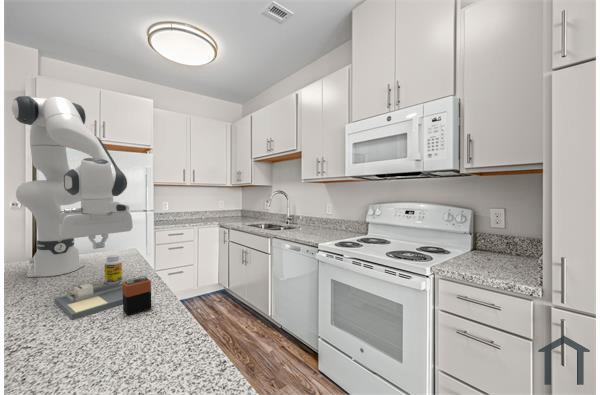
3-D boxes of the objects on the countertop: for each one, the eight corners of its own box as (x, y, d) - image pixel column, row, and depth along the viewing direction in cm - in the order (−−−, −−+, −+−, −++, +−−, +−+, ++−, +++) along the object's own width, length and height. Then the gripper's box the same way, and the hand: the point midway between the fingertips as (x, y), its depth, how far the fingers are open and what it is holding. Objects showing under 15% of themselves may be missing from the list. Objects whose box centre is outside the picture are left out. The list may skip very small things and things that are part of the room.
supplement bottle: (104, 285, 106) (104, 258, 105) (105, 280, 111) (104, 255, 110) (122, 282, 109) (121, 256, 108) (122, 278, 114) (121, 253, 113)
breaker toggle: (74, 297, 91) (73, 286, 91) (89, 293, 95) (88, 282, 94) (78, 300, 89) (77, 289, 89) (93, 296, 92) (93, 285, 92)
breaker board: (54, 302, 91) (54, 294, 91) (117, 286, 105) (117, 278, 105) (72, 319, 80) (72, 310, 80) (139, 298, 95) (139, 290, 94)
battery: (151, 308, 88) (151, 277, 87) (127, 316, 83) (126, 283, 82) (146, 304, 91) (146, 273, 90) (122, 311, 86) (121, 279, 85)
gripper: (60, 210, 84) (62, 256, 85) (134, 205, 100) (134, 244, 101) (54, 208, 88) (56, 252, 89) (126, 204, 104) (127, 241, 105)
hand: (98, 247), depth 95 cm, fingers closed
